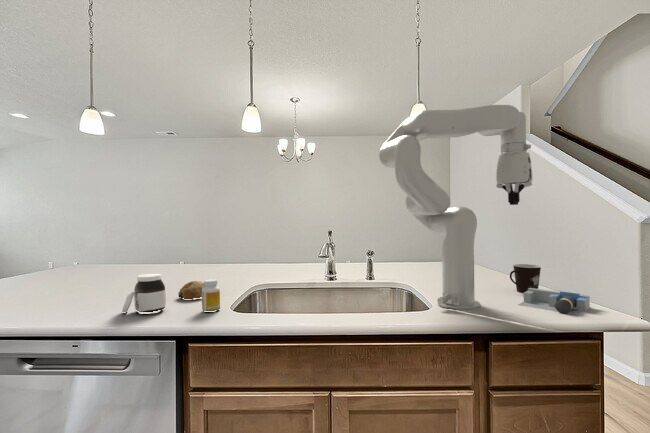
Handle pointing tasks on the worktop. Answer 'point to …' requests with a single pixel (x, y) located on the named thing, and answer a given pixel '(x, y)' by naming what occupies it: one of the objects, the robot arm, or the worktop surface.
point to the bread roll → (191, 290)
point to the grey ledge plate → (554, 300)
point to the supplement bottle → (210, 295)
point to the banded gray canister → (565, 304)
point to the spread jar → (147, 294)
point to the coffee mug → (526, 276)
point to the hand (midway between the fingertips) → (513, 204)
